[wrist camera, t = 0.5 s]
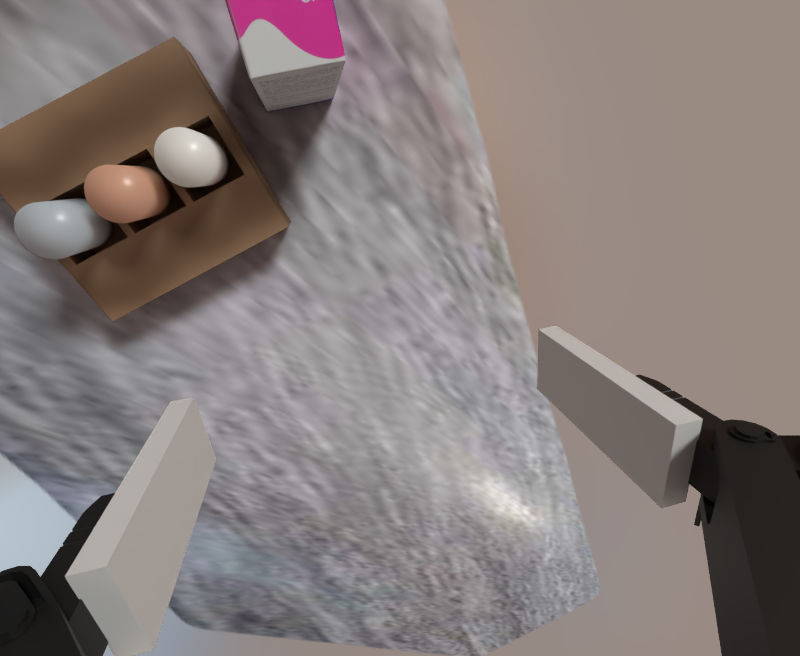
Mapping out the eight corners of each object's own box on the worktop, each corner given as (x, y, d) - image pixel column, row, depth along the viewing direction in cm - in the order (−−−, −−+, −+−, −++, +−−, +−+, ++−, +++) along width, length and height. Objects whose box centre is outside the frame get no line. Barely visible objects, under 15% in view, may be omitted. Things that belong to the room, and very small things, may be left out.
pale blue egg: (46, 212, 30) (-1, 219, 25) (89, 189, 30) (50, 191, 25) (82, 255, 31) (44, 268, 27) (124, 233, 31) (93, 243, 27)
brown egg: (106, 180, 30) (70, 181, 25) (149, 157, 30) (121, 154, 25) (140, 224, 31) (111, 233, 27) (181, 202, 31) (159, 207, 27)
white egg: (166, 148, 30) (141, 143, 25) (209, 125, 30) (191, 116, 25) (197, 194, 31) (178, 197, 27) (238, 172, 31) (226, 171, 27)
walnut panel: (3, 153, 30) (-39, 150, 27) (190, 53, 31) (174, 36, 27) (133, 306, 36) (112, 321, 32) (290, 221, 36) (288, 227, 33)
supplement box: (336, 99, 34) (347, 64, 23) (265, 113, 33) (244, 84, 22) (317, 15, 31) (320, -65, 21) (241, 29, 31) (204, -47, 20)
